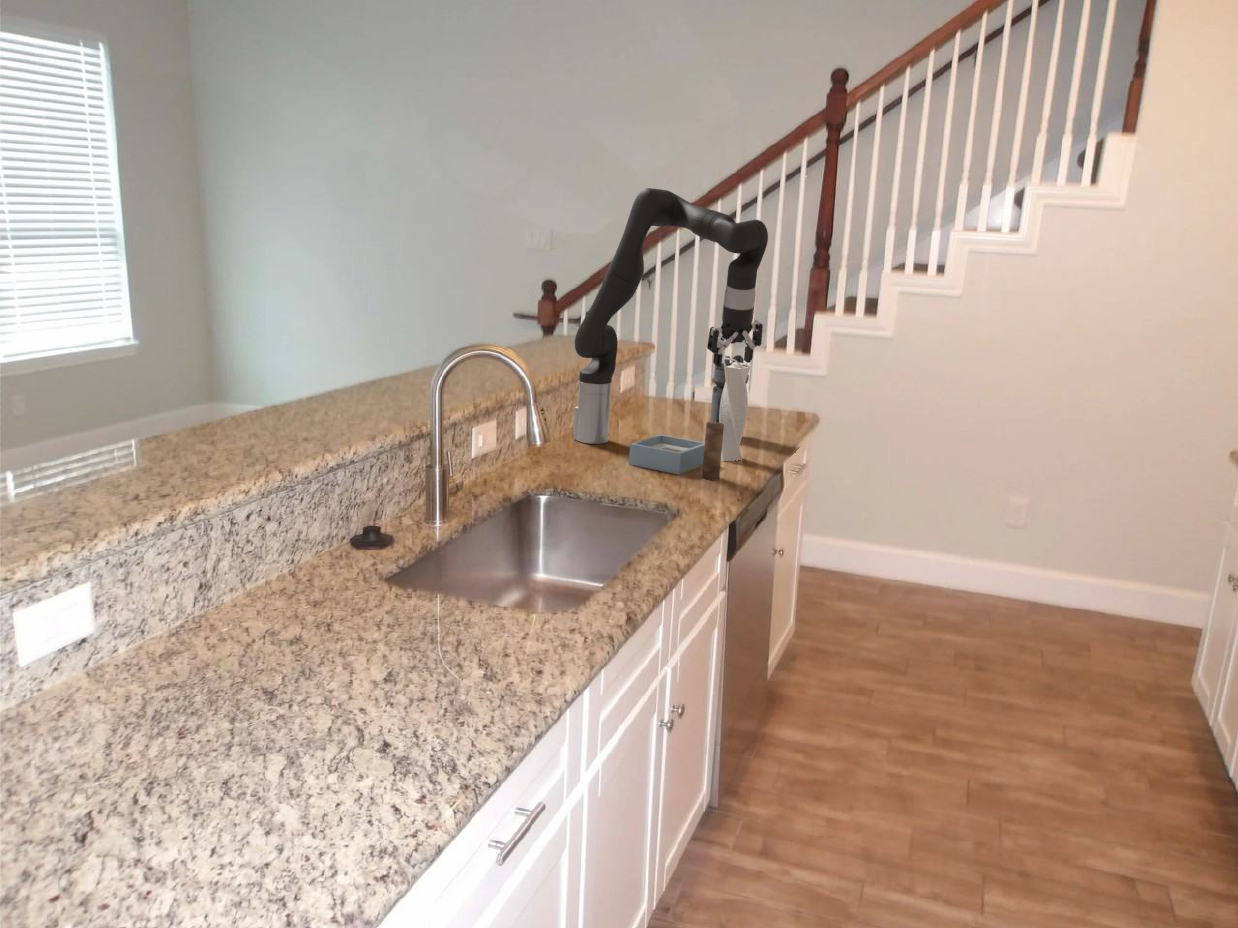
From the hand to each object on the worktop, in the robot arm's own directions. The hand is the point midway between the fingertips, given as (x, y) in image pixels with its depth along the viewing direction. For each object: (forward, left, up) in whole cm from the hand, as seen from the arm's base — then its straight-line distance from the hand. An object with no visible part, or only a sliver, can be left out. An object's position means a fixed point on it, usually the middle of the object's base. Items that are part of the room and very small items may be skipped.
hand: (732, 364), depth 245 cm
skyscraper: (-6, +16, -29) cm, 33 cm away
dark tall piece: (-19, +42, -29) cm, 54 cm away
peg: (0, -6, -29) cm, 29 cm away
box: (-15, -1, -28) cm, 32 cm away
